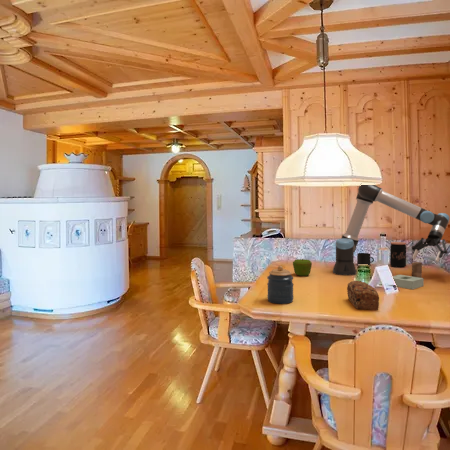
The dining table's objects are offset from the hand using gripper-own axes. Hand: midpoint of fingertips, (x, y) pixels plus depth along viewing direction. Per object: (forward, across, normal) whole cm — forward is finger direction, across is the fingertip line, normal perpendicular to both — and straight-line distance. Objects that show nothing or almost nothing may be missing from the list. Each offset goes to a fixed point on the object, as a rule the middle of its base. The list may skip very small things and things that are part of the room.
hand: (424, 260), depth 218 cm
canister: (+80, +24, +62) cm, 104 cm away
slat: (+15, +1, -3) cm, 15 cm away
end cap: (+24, +1, +6) cm, 25 cm away
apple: (+40, +59, +22) cm, 75 cm away
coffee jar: (-15, +34, -34) cm, 51 cm away
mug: (-6, +53, -24) cm, 58 cm away
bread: (+62, -5, +44) cm, 76 cm away
